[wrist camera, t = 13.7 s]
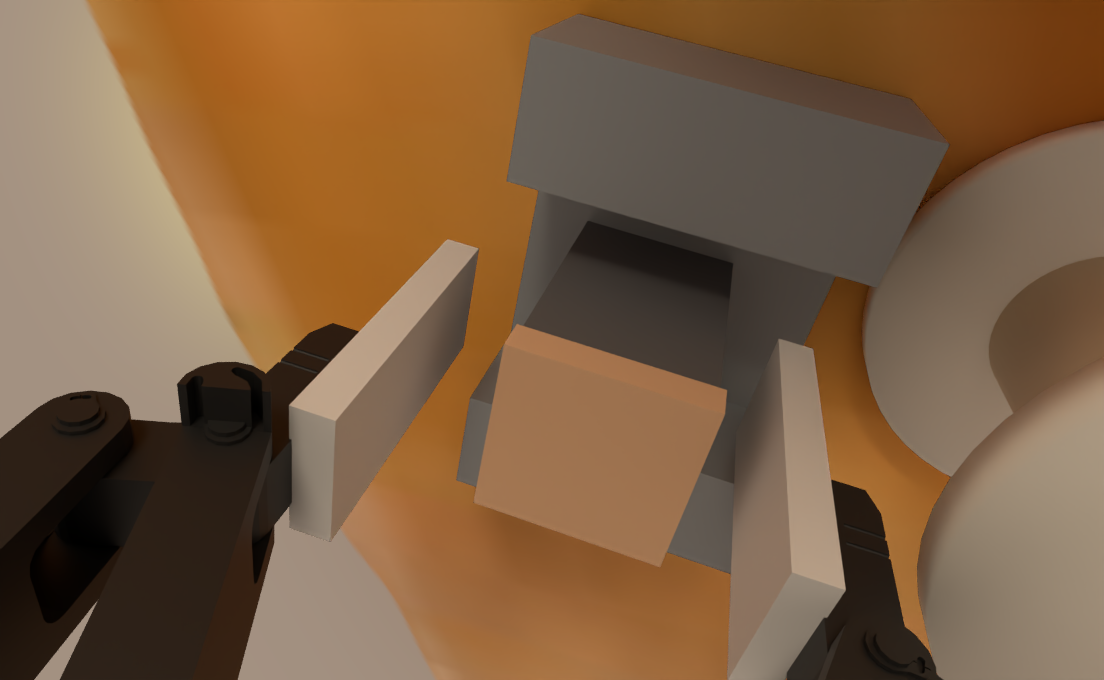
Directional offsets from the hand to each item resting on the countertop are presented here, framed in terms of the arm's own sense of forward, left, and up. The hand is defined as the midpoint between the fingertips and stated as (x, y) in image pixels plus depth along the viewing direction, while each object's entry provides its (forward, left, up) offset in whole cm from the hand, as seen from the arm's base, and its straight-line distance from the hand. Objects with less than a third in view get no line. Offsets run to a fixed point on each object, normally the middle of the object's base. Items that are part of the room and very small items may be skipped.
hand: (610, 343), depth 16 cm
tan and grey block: (+1, 0, -4) cm, 4 cm away
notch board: (0, +1, -4) cm, 5 cm away
